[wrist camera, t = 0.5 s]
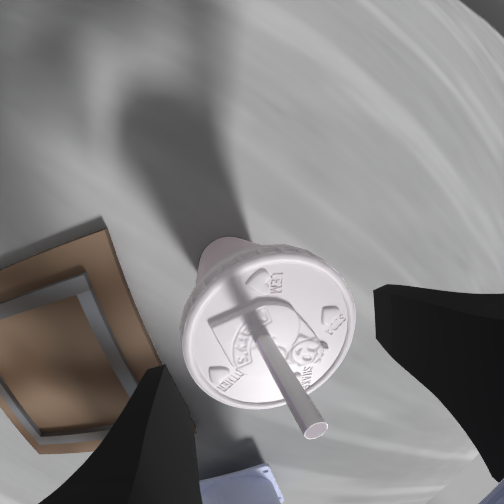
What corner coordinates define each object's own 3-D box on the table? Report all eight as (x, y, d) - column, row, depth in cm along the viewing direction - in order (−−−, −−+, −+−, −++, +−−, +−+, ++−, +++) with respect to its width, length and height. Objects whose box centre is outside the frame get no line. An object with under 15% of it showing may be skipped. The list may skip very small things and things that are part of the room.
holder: (195, 426, 21) (197, 438, 20) (41, 448, 19) (38, 458, 17) (107, 227, 17) (102, 231, 15) (-54, 295, 14) (-63, 301, 12)
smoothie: (200, 198, 18) (271, 254, 4) (292, 236, 20) (471, 332, 6) (163, 294, 18) (160, 495, 5) (254, 323, 20) (355, 491, 7)
